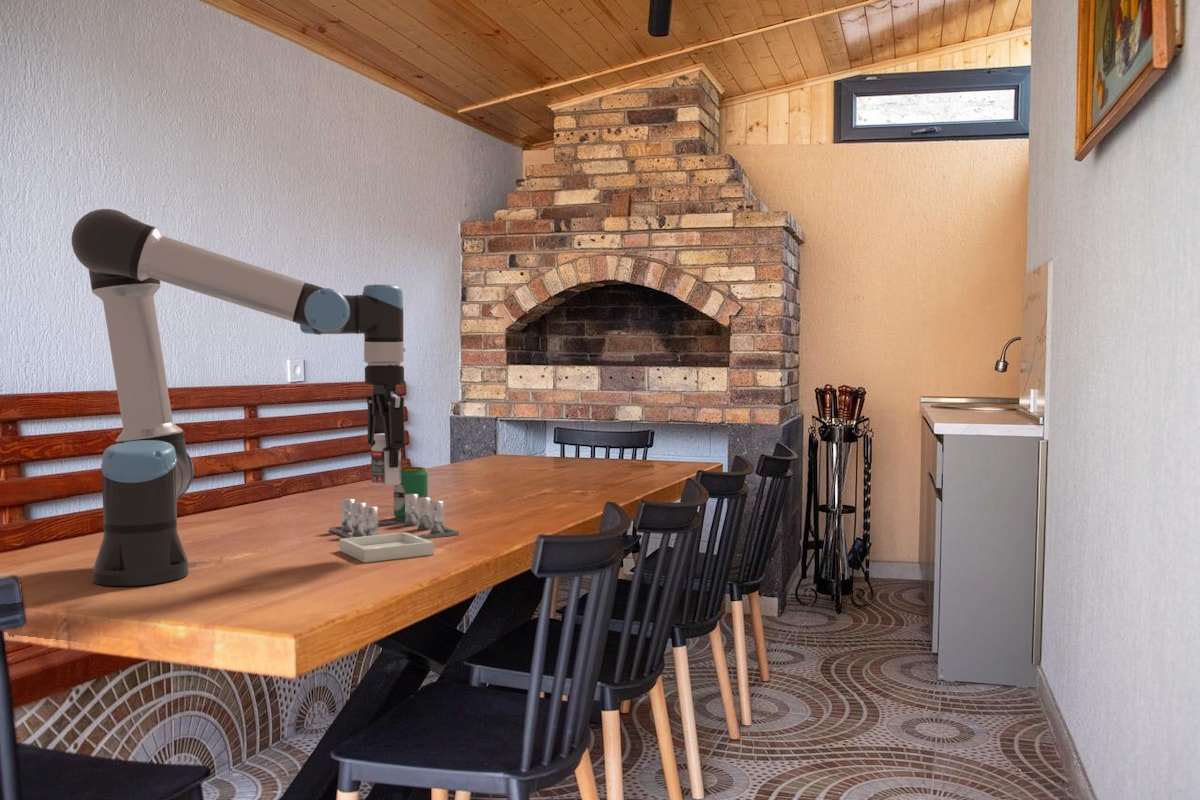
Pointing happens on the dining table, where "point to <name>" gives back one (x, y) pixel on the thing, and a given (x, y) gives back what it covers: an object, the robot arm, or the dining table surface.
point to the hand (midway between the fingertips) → (386, 482)
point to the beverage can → (409, 488)
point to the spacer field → (416, 513)
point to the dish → (386, 547)
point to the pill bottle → (380, 461)
